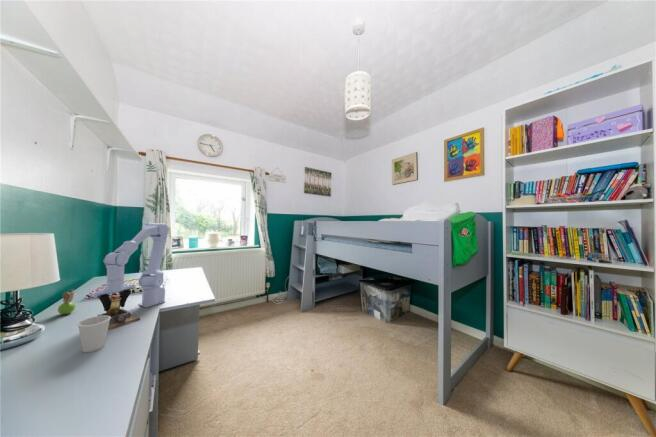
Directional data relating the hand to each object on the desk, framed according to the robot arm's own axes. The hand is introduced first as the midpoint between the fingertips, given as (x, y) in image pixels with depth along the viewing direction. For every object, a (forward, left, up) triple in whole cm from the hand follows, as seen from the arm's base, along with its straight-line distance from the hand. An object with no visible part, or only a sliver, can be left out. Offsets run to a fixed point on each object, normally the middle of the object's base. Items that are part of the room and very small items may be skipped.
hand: (114, 308), depth 102 cm
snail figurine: (+8, -26, -5) cm, 28 cm away
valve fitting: (0, -1, -2) cm, 2 cm away
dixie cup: (+13, +21, -5) cm, 25 cm away
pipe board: (0, +1, -5) cm, 5 cm away
